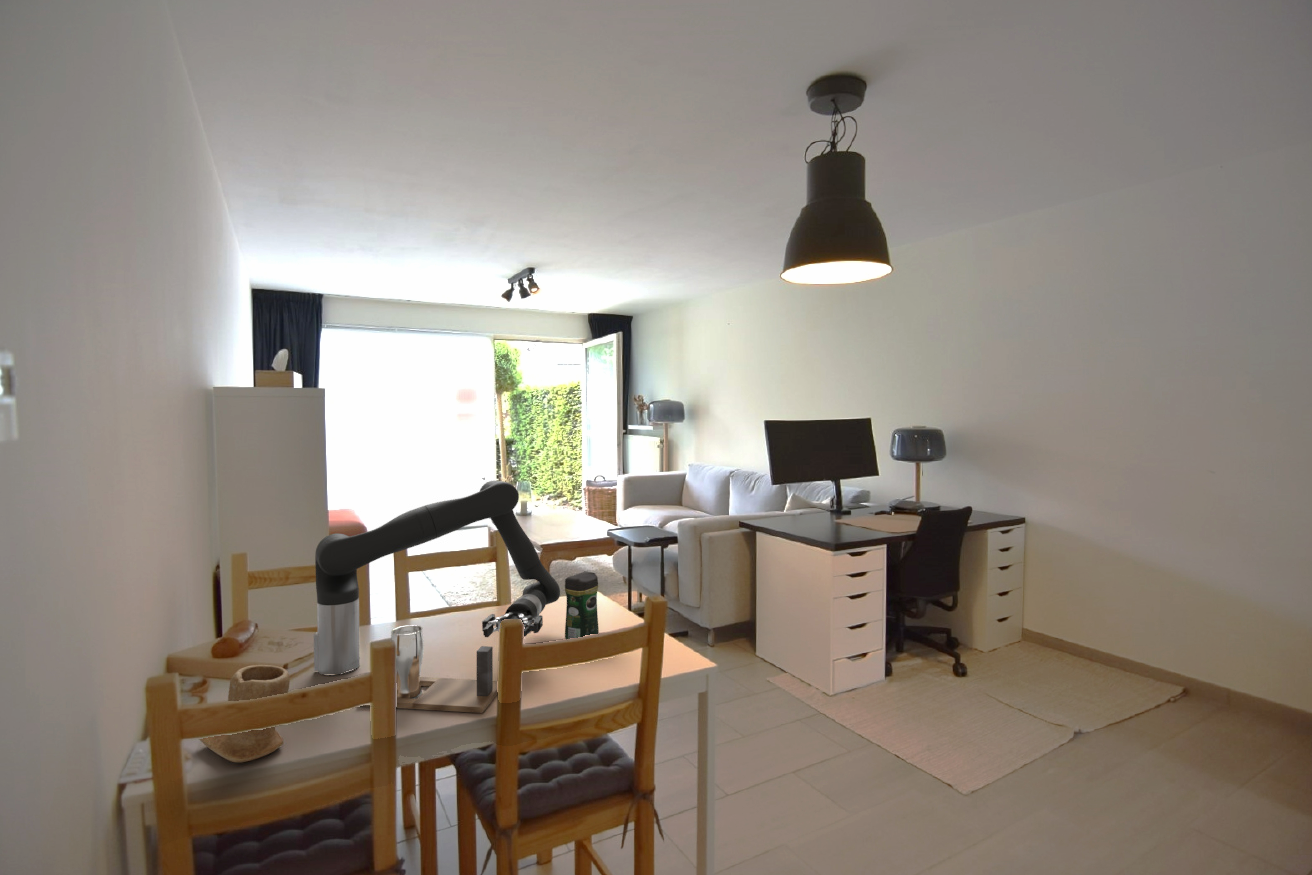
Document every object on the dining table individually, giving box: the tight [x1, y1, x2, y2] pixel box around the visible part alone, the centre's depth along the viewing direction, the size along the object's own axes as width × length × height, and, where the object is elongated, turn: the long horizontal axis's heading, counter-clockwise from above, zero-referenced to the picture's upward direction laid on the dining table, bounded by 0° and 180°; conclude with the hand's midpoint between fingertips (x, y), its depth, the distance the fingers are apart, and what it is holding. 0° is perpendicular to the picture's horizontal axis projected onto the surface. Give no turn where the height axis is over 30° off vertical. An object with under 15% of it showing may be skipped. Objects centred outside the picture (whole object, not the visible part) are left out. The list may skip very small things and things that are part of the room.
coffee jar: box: [564, 570, 600, 640], centre depth 178 cm, size 10×8×19 cm
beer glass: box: [390, 624, 425, 699], centre depth 141 cm, size 7×7×15 cm
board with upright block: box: [364, 645, 498, 714], centre depth 141 cm, size 28×13×11 cm, turn 84°
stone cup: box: [198, 664, 291, 764], centre depth 119 cm, size 15×12×15 cm
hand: (503, 633), depth 150 cm, fingers open, 8 cm apart
